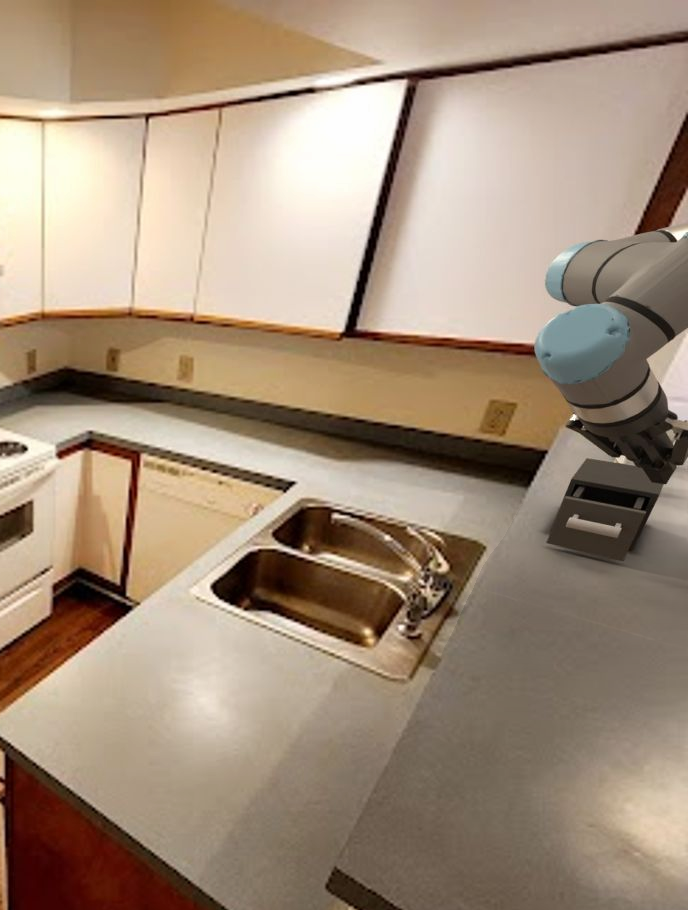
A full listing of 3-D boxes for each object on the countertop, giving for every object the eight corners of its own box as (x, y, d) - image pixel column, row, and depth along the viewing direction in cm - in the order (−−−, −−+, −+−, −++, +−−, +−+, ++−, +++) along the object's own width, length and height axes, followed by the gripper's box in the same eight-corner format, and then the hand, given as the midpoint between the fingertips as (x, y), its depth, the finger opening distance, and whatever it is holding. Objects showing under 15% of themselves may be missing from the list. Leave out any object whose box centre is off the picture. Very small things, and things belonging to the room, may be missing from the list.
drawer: (618, 570, 96) (641, 522, 92) (540, 551, 102) (558, 505, 99) (634, 534, 106) (655, 489, 102) (562, 519, 113) (579, 476, 109)
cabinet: (632, 550, 103) (659, 494, 99) (549, 531, 110) (571, 478, 106) (643, 524, 111) (669, 470, 107) (566, 508, 119) (586, 458, 114)
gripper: (708, 371, 69) (748, 458, 81) (564, 366, 81) (617, 443, 92) (672, 432, 70) (716, 510, 81) (534, 418, 81) (590, 488, 93)
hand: (664, 474), depth 87 cm, fingers closed
